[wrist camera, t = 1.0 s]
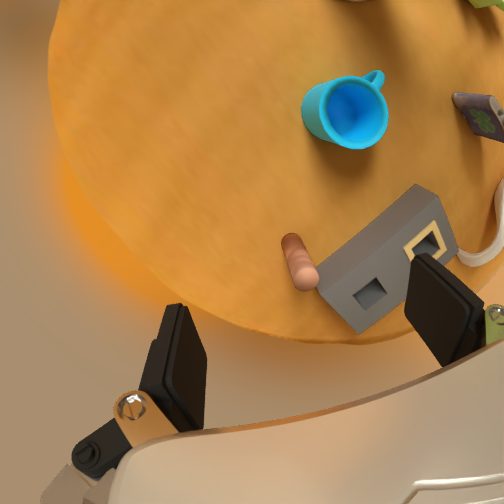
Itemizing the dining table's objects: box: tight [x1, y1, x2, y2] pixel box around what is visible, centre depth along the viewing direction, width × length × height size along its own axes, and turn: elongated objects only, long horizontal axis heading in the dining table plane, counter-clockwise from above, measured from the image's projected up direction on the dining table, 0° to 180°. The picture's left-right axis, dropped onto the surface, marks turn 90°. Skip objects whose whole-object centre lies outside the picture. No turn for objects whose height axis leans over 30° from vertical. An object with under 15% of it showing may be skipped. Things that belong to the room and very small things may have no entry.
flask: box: [452, 92, 504, 143], centre depth 26 cm, size 9×3×11 cm, turn 54°
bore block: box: [315, 184, 459, 334], centre depth 39 cm, size 22×12×6 cm, turn 132°
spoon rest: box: [457, 177, 504, 267], centre depth 37 cm, size 24×12×7 cm, turn 142°
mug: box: [301, 70, 389, 149], centre depth 28 cm, size 12×8×8 cm
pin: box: [281, 233, 319, 291], centre depth 36 cm, size 3×3×10 cm
